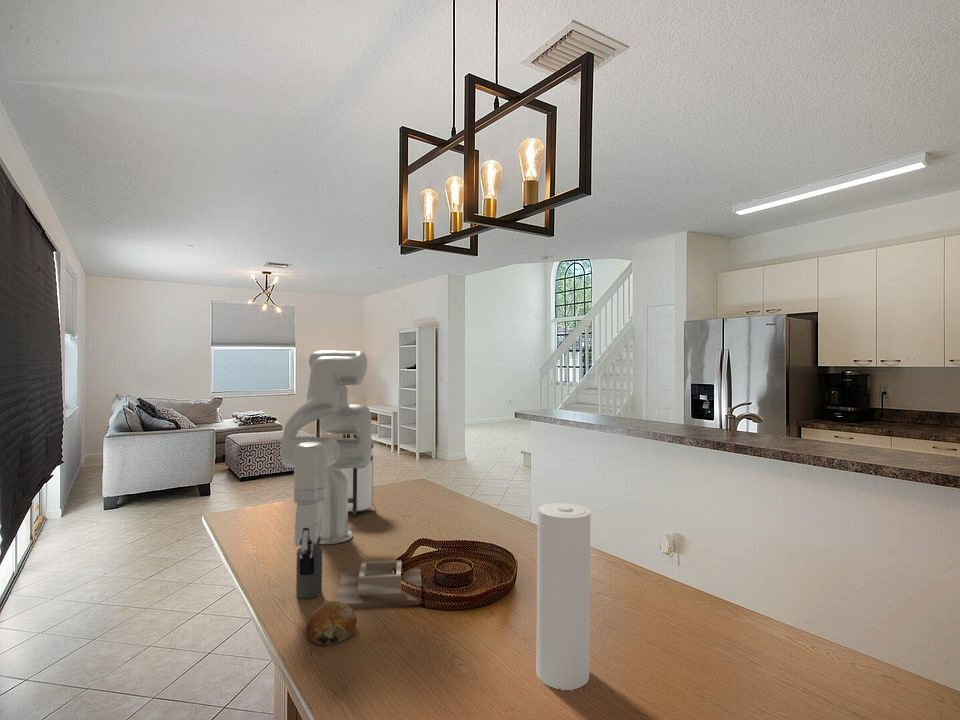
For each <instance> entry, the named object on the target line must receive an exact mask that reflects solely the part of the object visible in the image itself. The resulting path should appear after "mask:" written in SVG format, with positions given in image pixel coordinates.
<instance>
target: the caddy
mask: <svg viewBox="0 0 960 720" xmlns="http://www.w3.org/2000/svg"><path fill="white" fill-rule="evenodd" d="M402 563H403V562H402V559H399V560H398V559H397V560H375V561H372V560H371V561H361V564H360V569H359V571H347V572H346V571H344V572H342V576H341V579H340V583H339V586H338V588H337V592H336V596H335V600H334V601H340V602H343V603H345V604H347V605H348V606H350V607H351V609H352V610H353V609H355V610H356V609H367V608H370V609H371V608H385V607H387V608H388V607H389V608H390V607H402V606H419V605H420V604H419V603H418V600H417V599H414V598H412V597H410V596H408V595H406V594H405V593H403V592H402V591H401V570H402ZM393 568H394V569H395V570H396V574H392V571H393ZM410 569H411V570H410V571H409V572H407V573H406V574H405V576H404V577H403V578H404V580H405V581H406V582H408V583H410V584H413V585H416V586H422V587H423V585H422V583H423V582H422V573H421V572H422V569H421V568H410Z"/></svg>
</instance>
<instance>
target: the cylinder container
mask: <svg viewBox="0 0 960 720" xmlns="http://www.w3.org/2000/svg"><path fill="white" fill-rule="evenodd" d="M536 542H537V545H536V546H537V550H536V551H537V552H536V553H537V554H536V555H537V558H536V562H537V563H536V565H537V566H536V570H537V571H536V573H537V574H536V578H537V580H536V660H535V661H536V667H535V668H536V669H535V670H536V672H535V673H536V676H538V677H537V678H538V680H539V679H540V680H541V681H542V682H543V684H544V685H545V684H546V685H545V686H547V685H548V686H547V687H549V686H550V687H549V688H551V687H553V688H552V689H554V688H556V689H555V690H558V689H561V690H560V691H564V690H570V691H574V690H573V689H577V688H580V687H582V686H584V685H585V684H586V683H587V682H588V683H589V681H590V631H591V630H590V627H591V625H590V615H591V612H590V608H591V607H590V606H591V603H590V602H591V601H590V599H591V593H590V592H591V510H590V509H589V508H588V507H587V506H586V507H585V506H582V505H579V504H574V503H567V502H566V503H565V502H564V503H563V502H551V503H545V504H542V505H540V506H539V507H537V541H536ZM540 680H539V681H540ZM588 680H589V681H588ZM541 681H540V682H541ZM542 682H541V683H542ZM588 683H587V684H588ZM587 684H586V685H587ZM586 685H585V686H586ZM585 686H584V687H585ZM582 688H583V687H582ZM580 689H581V688H580ZM577 690H578V689H577Z"/></svg>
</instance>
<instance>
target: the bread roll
mask: <svg viewBox="0 0 960 720" xmlns="http://www.w3.org/2000/svg"><path fill="white" fill-rule="evenodd" d="M357 623H358V618H357V615H356V613H355V611H354V610H353V609H351V607H350V606H348V605H347V604H345V603H343V602H340V601H335V600H331V601H330V600H326V601H324V602H323V603H322V604H321V605H320V606H318V607H317V608H316V610H315V611H313V612H312V613H310V615H309V617H308V620H307V624H306V637H307V638H308V640H309V641H310V642H311V643H312V644H316V645H320V646H330V644H331V645H335V644H338V642H339V643H342V642H344V641H345V640H347V638H348V639H349V638H351V637H352V635H354V634H355V632H356V628H357ZM341 641H342V642H341Z"/></svg>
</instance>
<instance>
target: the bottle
mask: <svg viewBox="0 0 960 720" xmlns="http://www.w3.org/2000/svg"><path fill="white" fill-rule="evenodd" d="M319 533H320V531H319ZM311 542H312V541H309V542H308V544H311ZM320 542H321V538H320V537H319V538H318V540H317V542H316V544H315V545H314V547H313V557H314V574H313V575H300V550H301V542H300V544H299V545H298V546H300V547H299V548H297V550H296V581H295V582H296V585H295V586H296V587H295V588H296V590H295V591H296V597H298V598H300V599H312V598H313V599H314V598H316V597H318V596H320V595H321V594H322V590H323V589H322V587H323V548H322V546H320V544H319V543H320ZM308 549H309V550H310V547H308Z"/></svg>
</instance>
